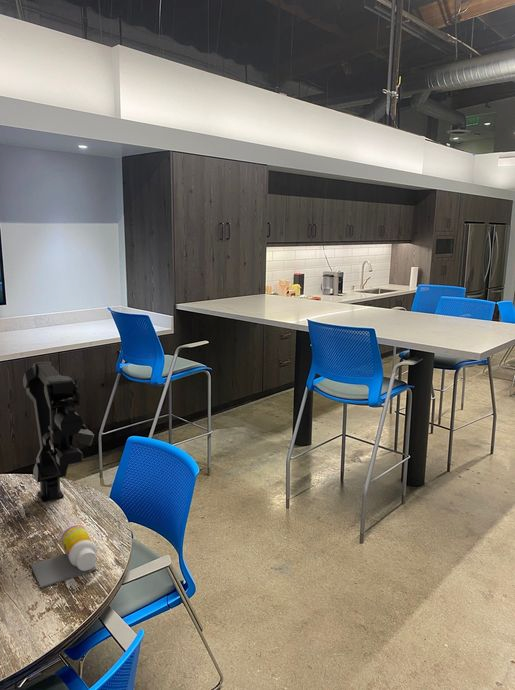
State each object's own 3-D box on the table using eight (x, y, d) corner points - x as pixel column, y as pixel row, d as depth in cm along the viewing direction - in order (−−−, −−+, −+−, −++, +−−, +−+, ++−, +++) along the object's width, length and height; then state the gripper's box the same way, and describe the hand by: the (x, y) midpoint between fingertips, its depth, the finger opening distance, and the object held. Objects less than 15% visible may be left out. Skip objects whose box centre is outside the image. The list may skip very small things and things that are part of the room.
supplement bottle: (55, 534, 134) (67, 561, 123) (79, 518, 136) (93, 542, 126) (68, 552, 136) (81, 580, 126) (91, 536, 139) (105, 561, 128)
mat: (30, 565, 129) (30, 563, 129) (83, 549, 137) (83, 547, 137) (40, 588, 121) (40, 586, 121) (96, 570, 129) (96, 568, 129)
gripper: (101, 428, 142) (102, 482, 145) (80, 408, 157) (81, 457, 160) (59, 436, 136) (60, 492, 139) (41, 414, 151) (43, 465, 154)
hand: (63, 475), depth 148 cm, fingers closed
